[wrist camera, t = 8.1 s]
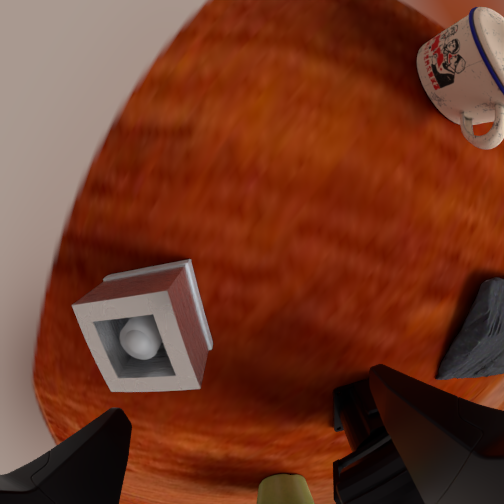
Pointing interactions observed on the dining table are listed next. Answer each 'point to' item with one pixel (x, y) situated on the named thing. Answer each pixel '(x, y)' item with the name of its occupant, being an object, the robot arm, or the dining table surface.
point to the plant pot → (284, 490)
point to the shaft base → (193, 282)
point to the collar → (168, 322)
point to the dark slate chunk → (479, 337)
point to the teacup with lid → (468, 74)
